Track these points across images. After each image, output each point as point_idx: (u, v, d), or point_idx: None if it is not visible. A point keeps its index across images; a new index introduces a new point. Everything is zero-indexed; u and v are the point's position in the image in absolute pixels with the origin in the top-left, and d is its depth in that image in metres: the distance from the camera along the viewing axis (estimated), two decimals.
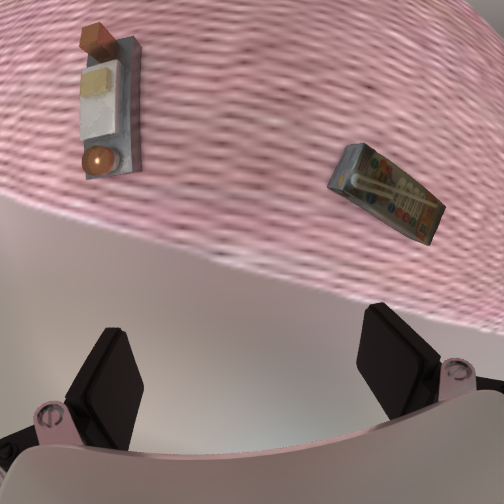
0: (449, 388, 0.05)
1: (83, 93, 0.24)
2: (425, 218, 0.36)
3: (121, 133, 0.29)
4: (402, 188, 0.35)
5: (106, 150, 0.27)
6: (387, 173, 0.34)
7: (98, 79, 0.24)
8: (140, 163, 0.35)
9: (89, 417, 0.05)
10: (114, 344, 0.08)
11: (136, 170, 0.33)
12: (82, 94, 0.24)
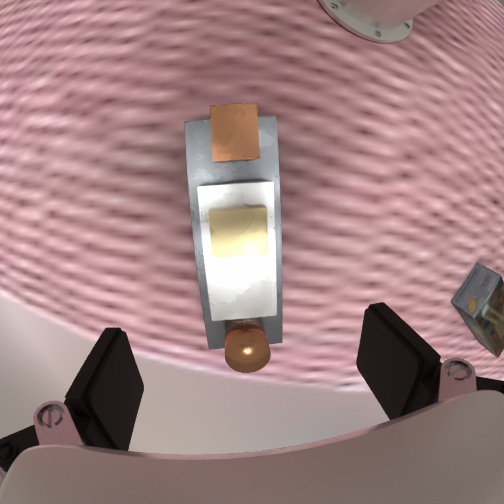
0: (449, 388, 0.05)
1: (220, 255, 0.18)
2: None
3: None
4: (503, 315, 0.28)
5: (266, 342, 0.21)
6: (501, 302, 0.28)
7: (251, 232, 0.17)
8: None
9: (89, 417, 0.05)
10: (114, 344, 0.08)
11: None
12: (218, 256, 0.18)
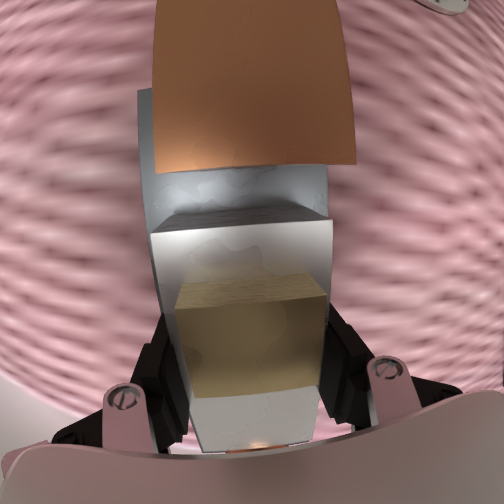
0: (383, 390, 0.06)
1: (212, 393, 0.07)
2: None
3: None
4: None
5: None
6: None
7: (284, 350, 0.07)
8: None
9: (161, 396, 0.07)
10: None
11: None
12: (207, 395, 0.07)
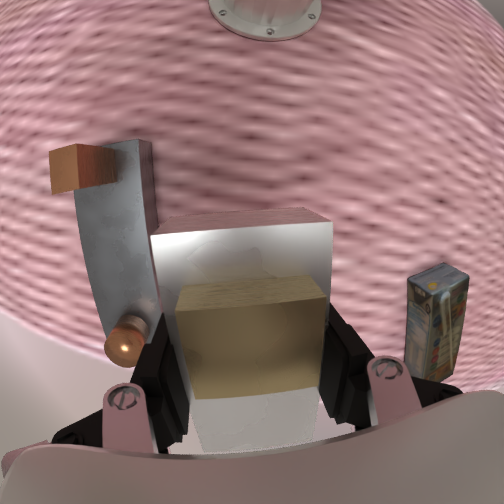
0: (383, 390, 0.06)
1: (212, 394, 0.07)
2: (440, 371, 0.31)
3: None
4: (452, 334, 0.30)
5: (135, 342, 0.22)
6: (457, 313, 0.29)
7: (284, 351, 0.07)
8: None
9: (161, 396, 0.07)
10: None
11: None
12: (207, 396, 0.07)
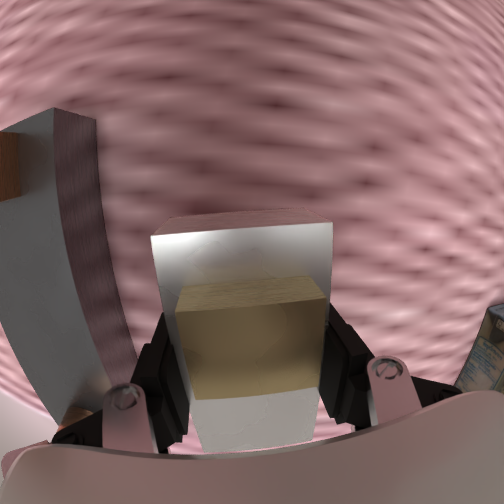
0: (383, 390, 0.06)
1: (211, 395, 0.07)
2: None
3: None
4: None
5: None
6: None
7: (284, 352, 0.07)
8: None
9: (161, 396, 0.07)
10: None
11: None
12: (207, 396, 0.07)
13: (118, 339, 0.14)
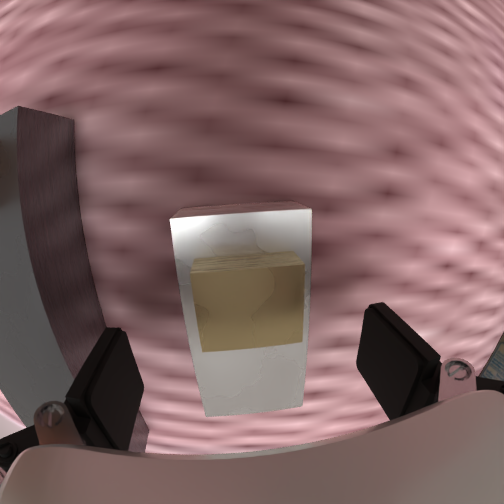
0: (449, 388, 0.05)
1: (216, 347, 0.09)
2: None
3: None
4: None
5: None
6: None
7: (273, 308, 0.09)
8: (142, 428, 0.15)
9: (89, 417, 0.05)
10: (114, 344, 0.08)
11: None
12: (212, 349, 0.09)
13: None
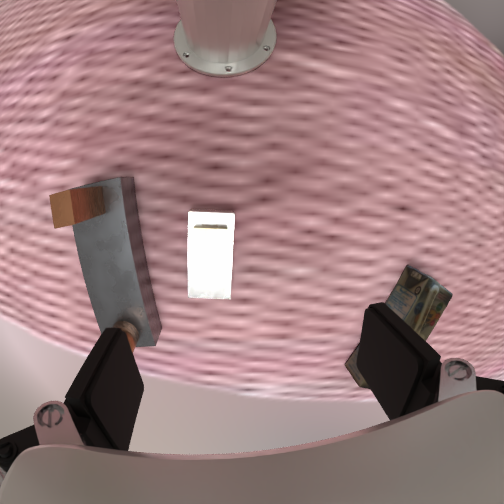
0: (449, 388, 0.05)
1: (197, 254, 0.29)
2: None
3: None
4: None
5: None
6: (430, 321, 0.34)
7: (217, 242, 0.29)
8: (159, 323, 0.34)
9: (89, 417, 0.05)
10: (114, 344, 0.08)
11: (158, 337, 0.33)
12: (196, 255, 0.29)
13: (146, 281, 0.32)
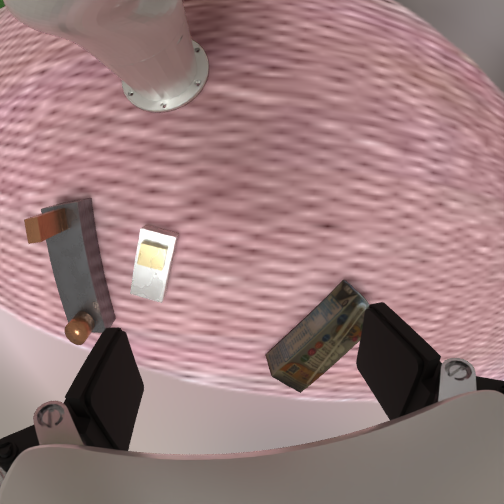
0: (449, 388, 0.05)
1: (140, 263, 0.35)
2: (302, 372, 0.41)
3: None
4: (335, 349, 0.41)
5: (81, 328, 0.33)
6: (352, 336, 0.40)
7: (156, 258, 0.35)
8: (112, 314, 0.40)
9: (89, 417, 0.05)
10: (114, 344, 0.08)
11: (110, 325, 0.39)
12: (139, 264, 0.35)
13: (100, 281, 0.38)
